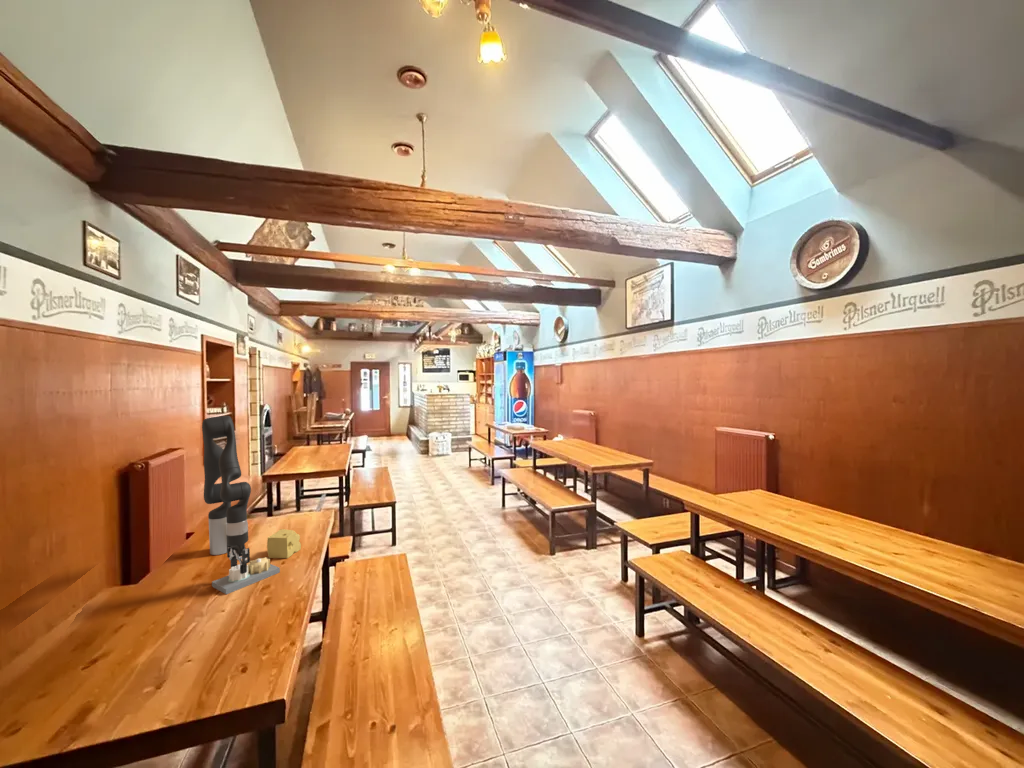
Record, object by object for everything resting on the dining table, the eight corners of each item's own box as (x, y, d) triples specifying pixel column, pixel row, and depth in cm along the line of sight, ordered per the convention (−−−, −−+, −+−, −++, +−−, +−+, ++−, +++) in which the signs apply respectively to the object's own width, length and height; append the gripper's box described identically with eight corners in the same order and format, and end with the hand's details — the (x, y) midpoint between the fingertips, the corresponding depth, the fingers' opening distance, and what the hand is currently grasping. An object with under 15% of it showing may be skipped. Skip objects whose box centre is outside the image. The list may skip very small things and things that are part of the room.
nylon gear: (226, 578, 174) (226, 568, 174) (243, 571, 179) (243, 562, 179) (234, 582, 170) (234, 572, 170) (251, 575, 176) (250, 566, 176)
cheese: (301, 549, 207) (300, 529, 207) (287, 559, 196) (286, 538, 196) (281, 549, 208) (280, 528, 208) (266, 558, 197) (265, 537, 197)
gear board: (212, 586, 172) (211, 569, 172) (265, 565, 190) (264, 550, 189) (226, 594, 165) (225, 576, 165) (279, 572, 183) (279, 556, 183)
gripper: (218, 531, 175) (220, 570, 176) (236, 538, 167) (237, 578, 168) (238, 525, 181) (239, 563, 182) (255, 531, 174) (257, 571, 174)
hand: (238, 570), depth 175 cm, fingers open, 7 cm apart
